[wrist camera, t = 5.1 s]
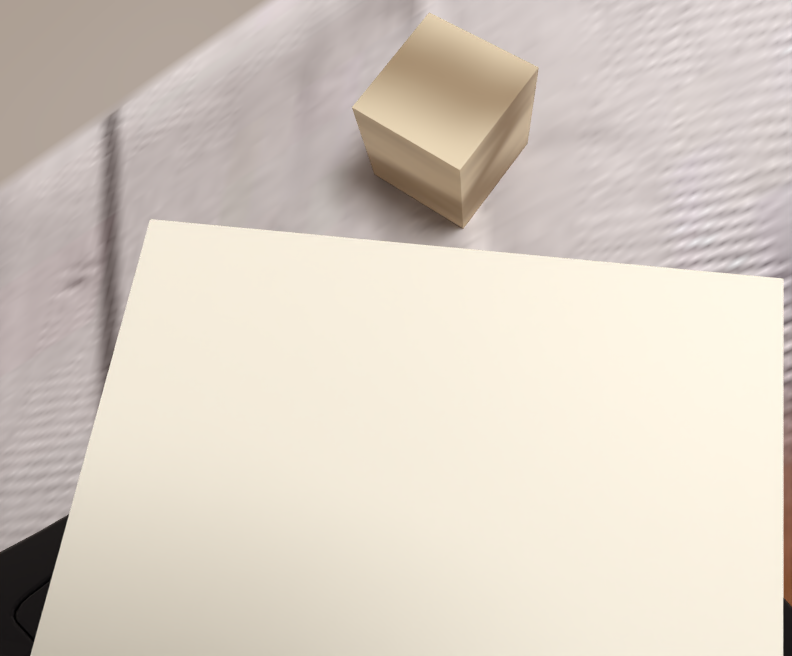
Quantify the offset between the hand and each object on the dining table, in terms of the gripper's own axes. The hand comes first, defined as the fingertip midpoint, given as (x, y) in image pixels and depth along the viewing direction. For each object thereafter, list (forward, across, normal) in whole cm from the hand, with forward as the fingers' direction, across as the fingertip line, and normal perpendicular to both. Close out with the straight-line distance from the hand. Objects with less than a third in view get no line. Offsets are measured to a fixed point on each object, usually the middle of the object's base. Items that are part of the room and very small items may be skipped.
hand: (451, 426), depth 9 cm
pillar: (+4, 0, +6) cm, 7 cm away
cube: (+19, +2, +1) cm, 19 cm away
